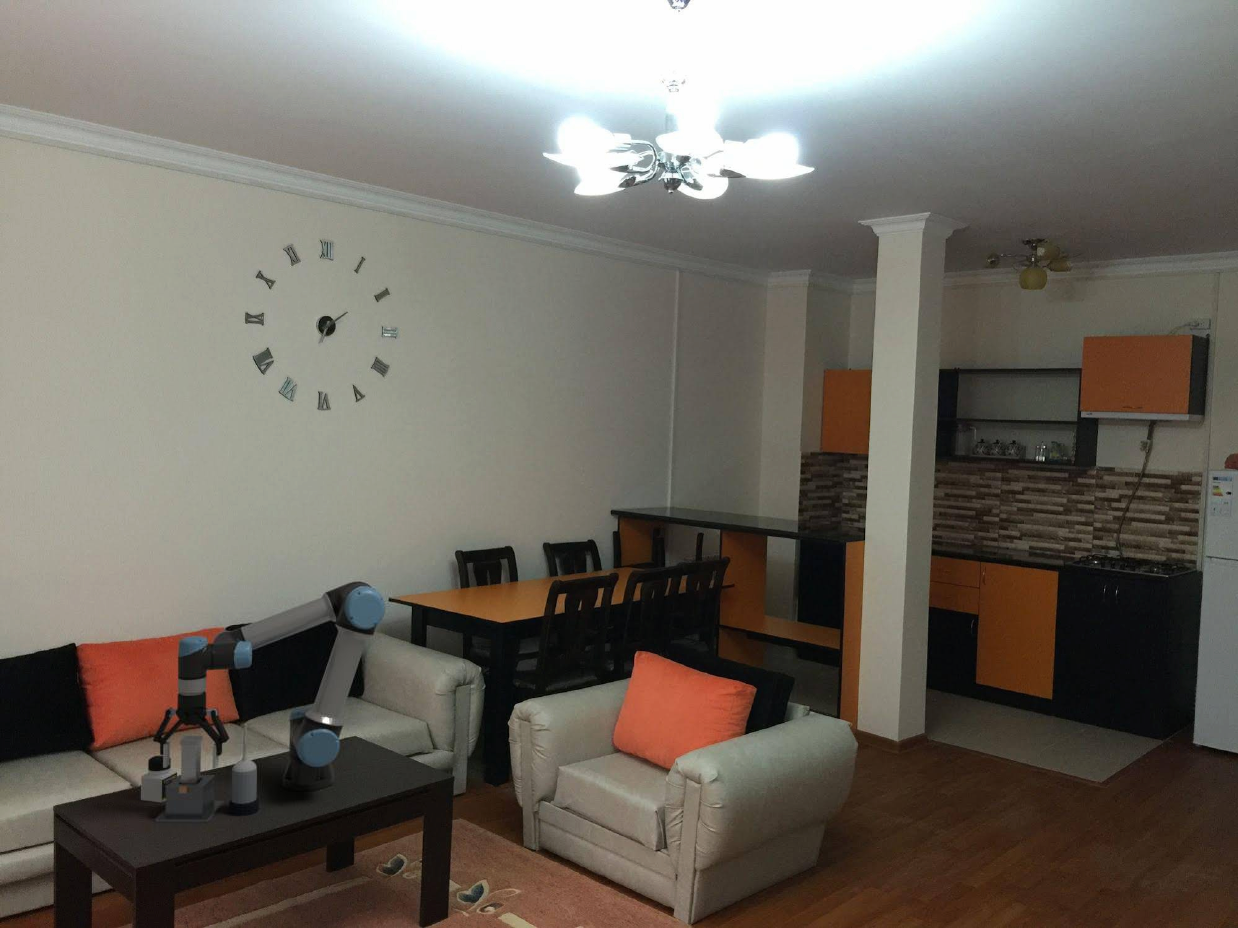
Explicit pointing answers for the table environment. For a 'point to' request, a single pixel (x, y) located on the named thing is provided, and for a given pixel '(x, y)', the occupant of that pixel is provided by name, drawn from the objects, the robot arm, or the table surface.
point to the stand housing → (190, 801)
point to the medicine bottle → (156, 780)
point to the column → (190, 759)
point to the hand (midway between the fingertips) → (190, 766)
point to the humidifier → (244, 785)
